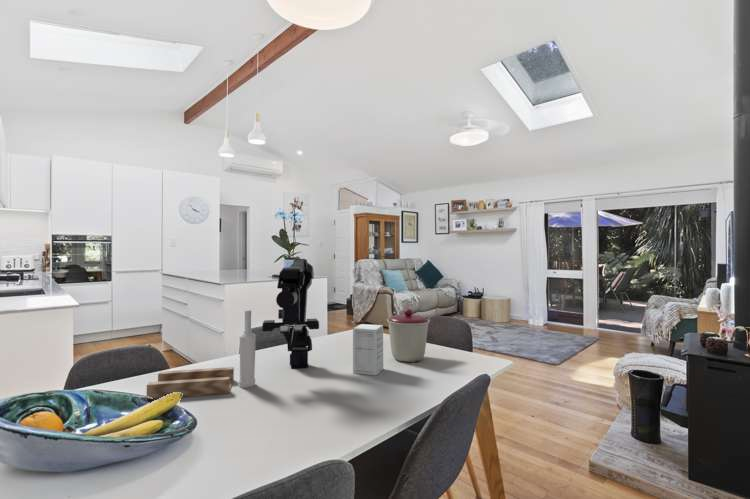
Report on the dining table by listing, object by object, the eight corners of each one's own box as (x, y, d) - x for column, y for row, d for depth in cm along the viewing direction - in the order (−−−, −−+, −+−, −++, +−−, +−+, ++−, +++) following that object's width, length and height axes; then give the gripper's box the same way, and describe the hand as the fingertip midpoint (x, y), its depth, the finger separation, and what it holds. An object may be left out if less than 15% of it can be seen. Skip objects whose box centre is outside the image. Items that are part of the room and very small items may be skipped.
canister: (377, 358, 157) (378, 308, 157) (405, 351, 170) (406, 304, 170) (410, 368, 144) (411, 313, 145) (438, 359, 157) (438, 309, 157)
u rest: (233, 379, 129) (233, 367, 129) (228, 393, 117) (228, 379, 117) (160, 385, 124) (160, 371, 124) (146, 400, 111) (146, 385, 111)
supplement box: (383, 368, 144) (384, 324, 144) (376, 376, 135) (377, 329, 135) (360, 366, 146) (361, 323, 147) (352, 373, 138) (352, 327, 138)
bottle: (250, 388, 121) (251, 311, 122) (235, 387, 122) (236, 311, 123) (258, 383, 126) (259, 309, 127) (244, 382, 127) (245, 308, 128)
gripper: (316, 300, 138) (315, 343, 138) (263, 302, 134) (263, 345, 133) (319, 304, 127) (319, 350, 127) (262, 306, 123) (262, 353, 123)
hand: (290, 349), depth 128 cm, fingers closed
